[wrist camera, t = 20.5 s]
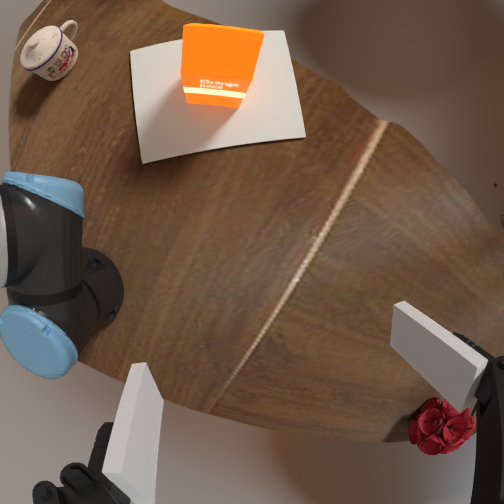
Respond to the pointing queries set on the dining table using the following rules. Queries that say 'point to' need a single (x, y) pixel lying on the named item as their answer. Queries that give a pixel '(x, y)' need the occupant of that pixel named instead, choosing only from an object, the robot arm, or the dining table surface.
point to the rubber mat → (212, 116)
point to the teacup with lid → (50, 52)
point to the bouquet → (440, 427)
